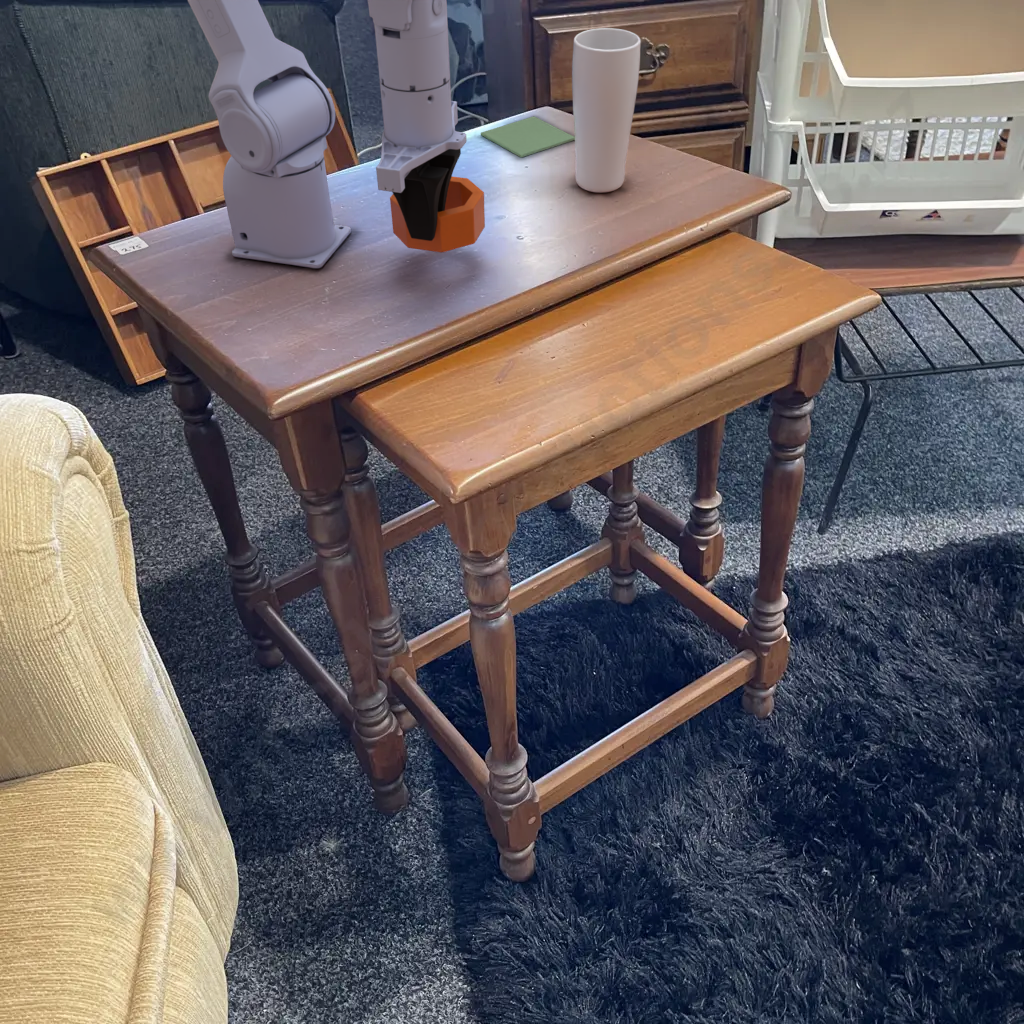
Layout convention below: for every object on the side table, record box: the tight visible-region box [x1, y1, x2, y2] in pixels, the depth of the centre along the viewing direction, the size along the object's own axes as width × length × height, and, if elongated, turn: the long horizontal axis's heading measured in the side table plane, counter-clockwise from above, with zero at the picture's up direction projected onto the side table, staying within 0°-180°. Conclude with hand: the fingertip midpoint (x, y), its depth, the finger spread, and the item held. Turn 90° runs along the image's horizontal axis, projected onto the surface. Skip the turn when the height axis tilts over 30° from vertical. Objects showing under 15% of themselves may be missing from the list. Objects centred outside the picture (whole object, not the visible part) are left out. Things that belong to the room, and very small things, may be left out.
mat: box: [480, 115, 575, 158], centre depth 116 cm, size 8×8×1 cm
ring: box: [389, 175, 486, 253], centre depth 91 cm, size 8×8×4 cm
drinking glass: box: [571, 27, 642, 194], centre depth 102 cm, size 7×7×15 cm
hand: (426, 233), depth 89 cm, fingers closed on ring
